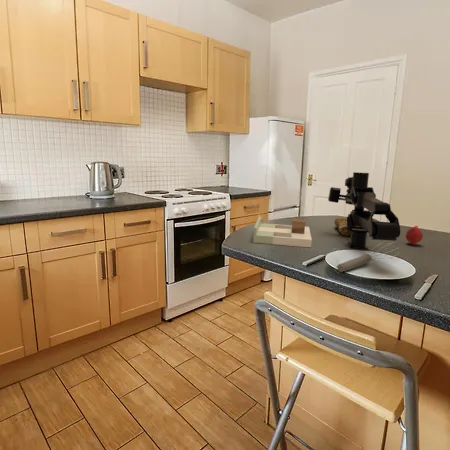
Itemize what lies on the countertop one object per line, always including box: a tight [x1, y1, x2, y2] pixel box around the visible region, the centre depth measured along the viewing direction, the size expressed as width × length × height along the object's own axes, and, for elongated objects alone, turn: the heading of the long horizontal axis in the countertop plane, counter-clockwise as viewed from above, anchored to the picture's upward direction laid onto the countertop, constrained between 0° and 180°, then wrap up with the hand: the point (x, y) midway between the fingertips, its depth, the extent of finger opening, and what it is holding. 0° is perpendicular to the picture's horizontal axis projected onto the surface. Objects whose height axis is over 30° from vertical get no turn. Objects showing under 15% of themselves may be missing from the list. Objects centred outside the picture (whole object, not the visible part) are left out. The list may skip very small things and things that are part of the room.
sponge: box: [333, 216, 360, 237], centre depth 152 cm, size 13×8×20 cm
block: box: [291, 218, 306, 234], centre depth 136 cm, size 5×5×5 cm
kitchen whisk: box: [335, 240, 400, 274], centre depth 110 cm, size 6×34×6 cm, turn 126°
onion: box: [405, 225, 424, 246], centre depth 134 cm, size 6×6×8 cm
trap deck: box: [252, 216, 313, 248], centre depth 138 cm, size 22×22×6 cm
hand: (346, 196), depth 151 cm, fingers open, 9 cm apart
